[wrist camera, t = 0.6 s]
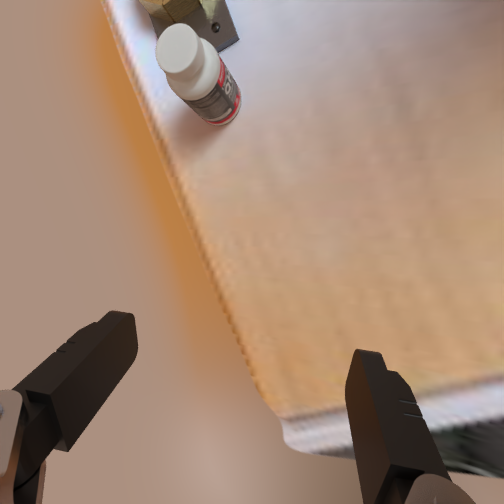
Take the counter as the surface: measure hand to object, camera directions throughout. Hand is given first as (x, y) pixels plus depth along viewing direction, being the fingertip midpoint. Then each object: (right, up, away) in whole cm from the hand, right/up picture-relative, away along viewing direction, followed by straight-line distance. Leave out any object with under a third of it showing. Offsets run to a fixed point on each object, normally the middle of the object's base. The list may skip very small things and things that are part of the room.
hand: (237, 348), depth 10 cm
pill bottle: (-3, +21, +22) cm, 31 cm away
